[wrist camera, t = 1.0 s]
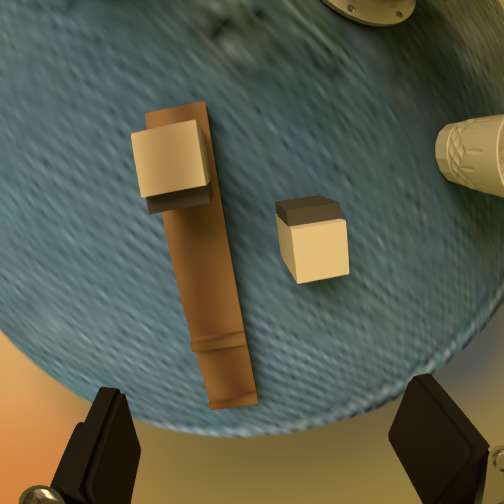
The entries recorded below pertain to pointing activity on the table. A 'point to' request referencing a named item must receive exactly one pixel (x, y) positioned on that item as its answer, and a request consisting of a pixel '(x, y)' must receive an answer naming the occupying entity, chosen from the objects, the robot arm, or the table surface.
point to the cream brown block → (312, 238)
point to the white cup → (473, 153)
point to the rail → (197, 245)
